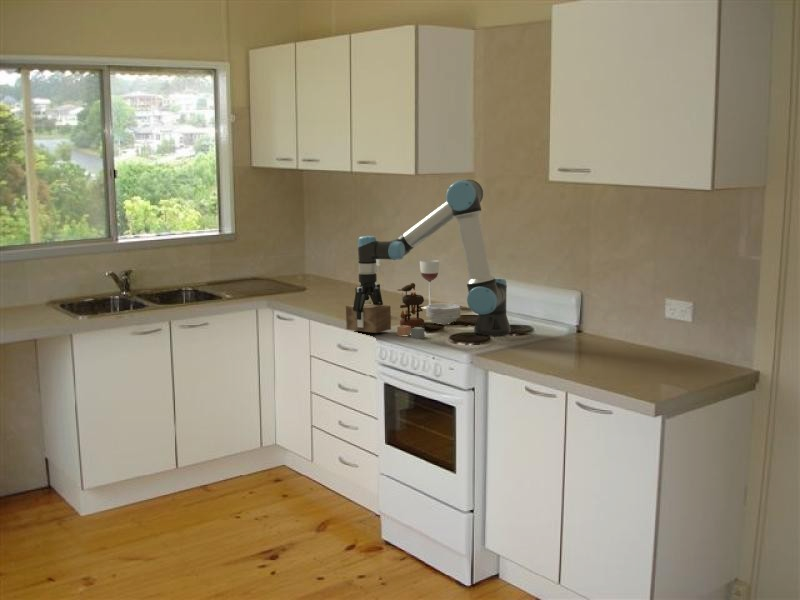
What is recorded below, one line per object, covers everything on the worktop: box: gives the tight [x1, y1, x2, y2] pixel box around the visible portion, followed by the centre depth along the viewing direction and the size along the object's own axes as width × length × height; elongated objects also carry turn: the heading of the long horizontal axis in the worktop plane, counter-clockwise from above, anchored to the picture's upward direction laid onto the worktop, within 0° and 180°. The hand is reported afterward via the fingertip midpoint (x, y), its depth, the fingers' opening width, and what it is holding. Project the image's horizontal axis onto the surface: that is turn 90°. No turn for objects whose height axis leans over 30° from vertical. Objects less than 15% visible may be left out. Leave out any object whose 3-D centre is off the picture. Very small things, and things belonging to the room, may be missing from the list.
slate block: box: [410, 327, 426, 340], centre depth 377 cm, size 4×4×4 cm
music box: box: [397, 282, 425, 327], centre depth 398 cm, size 15×11×20 cm
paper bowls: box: [425, 302, 462, 325], centre depth 408 cm, size 15×15×8 cm
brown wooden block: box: [345, 303, 392, 334], centre depth 388 cm, size 16×10×10 cm, turn 53°
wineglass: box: [419, 259, 440, 310], centre depth 449 cm, size 9×10×23 cm
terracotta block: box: [396, 325, 411, 336], centre depth 381 cm, size 4×4×4 cm
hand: (368, 325), depth 388 cm, fingers closed on brown wooden block, 10 cm apart
